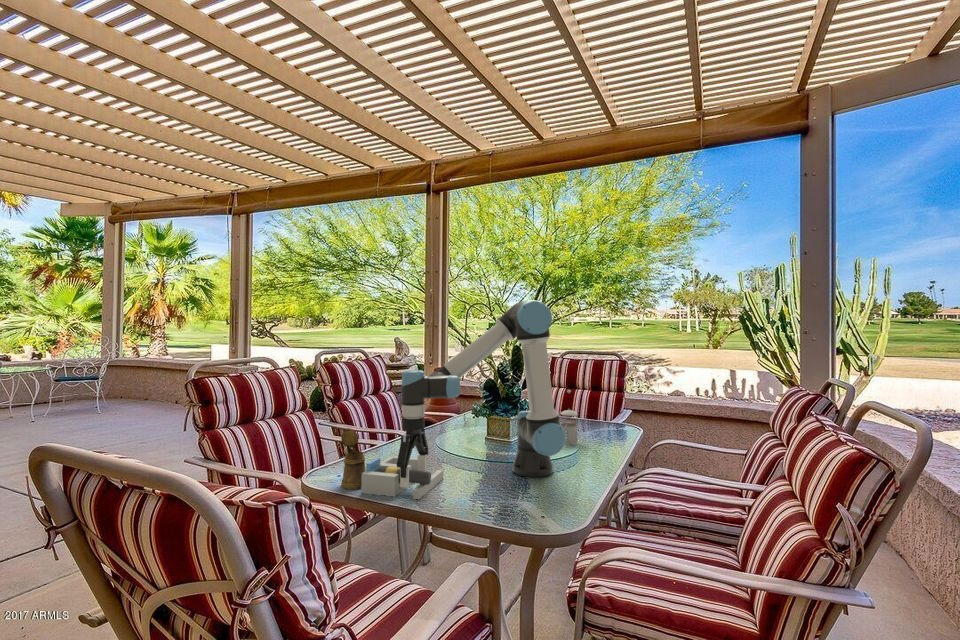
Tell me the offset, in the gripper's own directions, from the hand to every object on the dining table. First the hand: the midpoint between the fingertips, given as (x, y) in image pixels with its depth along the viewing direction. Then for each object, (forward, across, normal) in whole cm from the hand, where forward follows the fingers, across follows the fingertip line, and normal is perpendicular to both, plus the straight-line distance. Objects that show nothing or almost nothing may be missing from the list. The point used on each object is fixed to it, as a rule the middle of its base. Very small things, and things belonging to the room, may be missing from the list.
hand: (413, 480), depth 159 cm
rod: (+1, 0, -3) cm, 3 cm away
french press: (+5, -83, +42) cm, 94 cm away
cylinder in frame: (+4, -4, -6) cm, 8 cm away
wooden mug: (+4, -1, -24) cm, 24 cm away
